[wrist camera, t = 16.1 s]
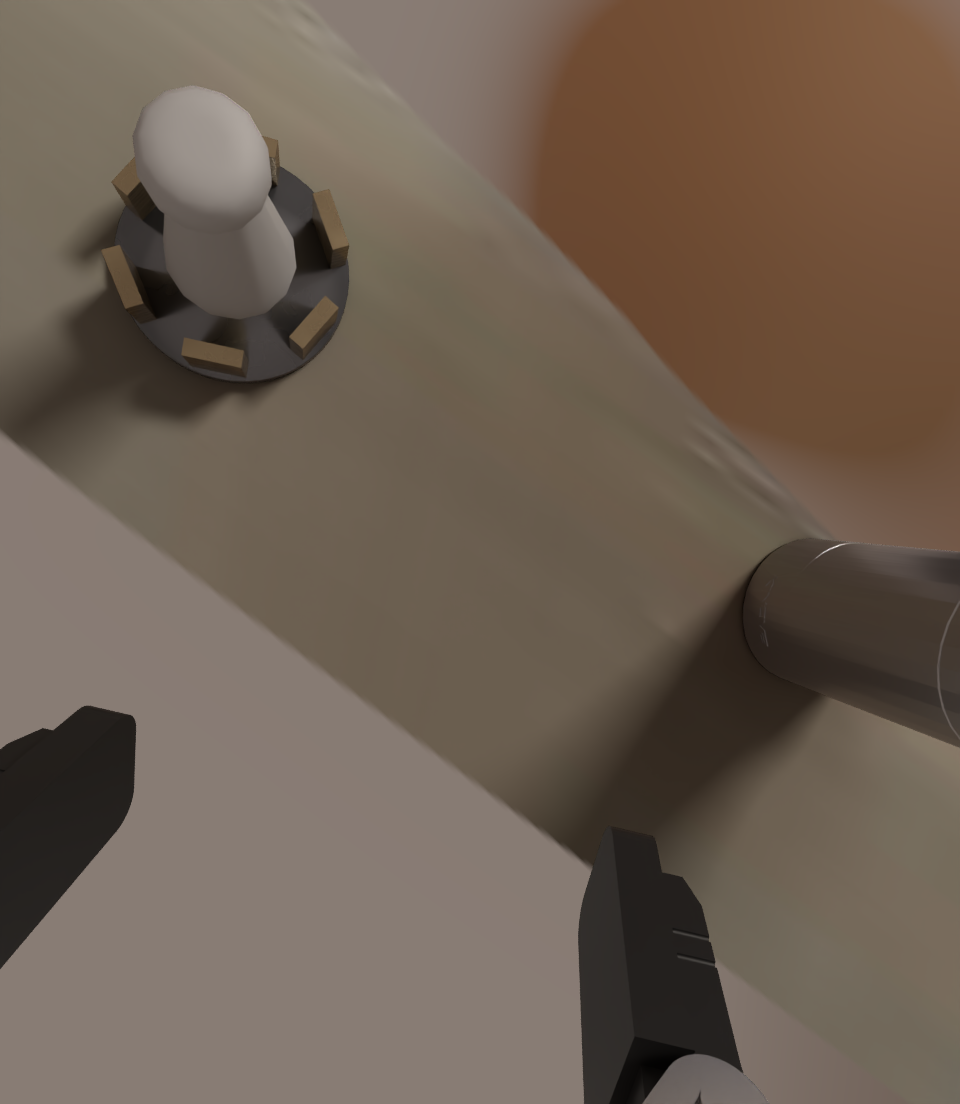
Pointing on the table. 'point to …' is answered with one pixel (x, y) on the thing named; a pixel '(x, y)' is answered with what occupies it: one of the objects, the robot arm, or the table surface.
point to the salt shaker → (214, 202)
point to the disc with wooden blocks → (226, 342)
